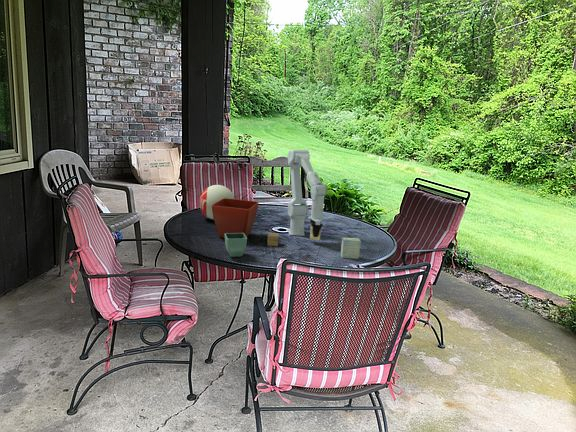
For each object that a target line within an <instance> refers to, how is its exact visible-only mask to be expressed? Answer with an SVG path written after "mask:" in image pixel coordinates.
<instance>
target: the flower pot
mask: <svg viewBox="0 0 576 432" xmlns="http://www.w3.org/2000/svg"><path fill="white" fill-rule="evenodd" d="M247 240H248V236H247V237H246V236H245V234H244V233H225V238H224V243H225V248H226V251H227V252H228V255H229V257H230V258H234V257H243V255H244V254H245V252H246V249H247V243H248V241H247Z"/></svg>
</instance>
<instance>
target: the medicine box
mask: <svg viewBox="0 0 576 432" xmlns="http://www.w3.org/2000/svg"><path fill="white" fill-rule="evenodd" d="M361 243H362V241H361V239H360V238H359V237H341V246H340V256H341V258H342V259H355V260H358V259H360V250H361Z"/></svg>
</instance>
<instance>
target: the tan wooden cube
mask: <svg viewBox="0 0 576 432" xmlns="http://www.w3.org/2000/svg"><path fill="white" fill-rule="evenodd" d="M267 246H268V247H269V246H270V247H278V246H279V233H275V232H268V233H267Z"/></svg>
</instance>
